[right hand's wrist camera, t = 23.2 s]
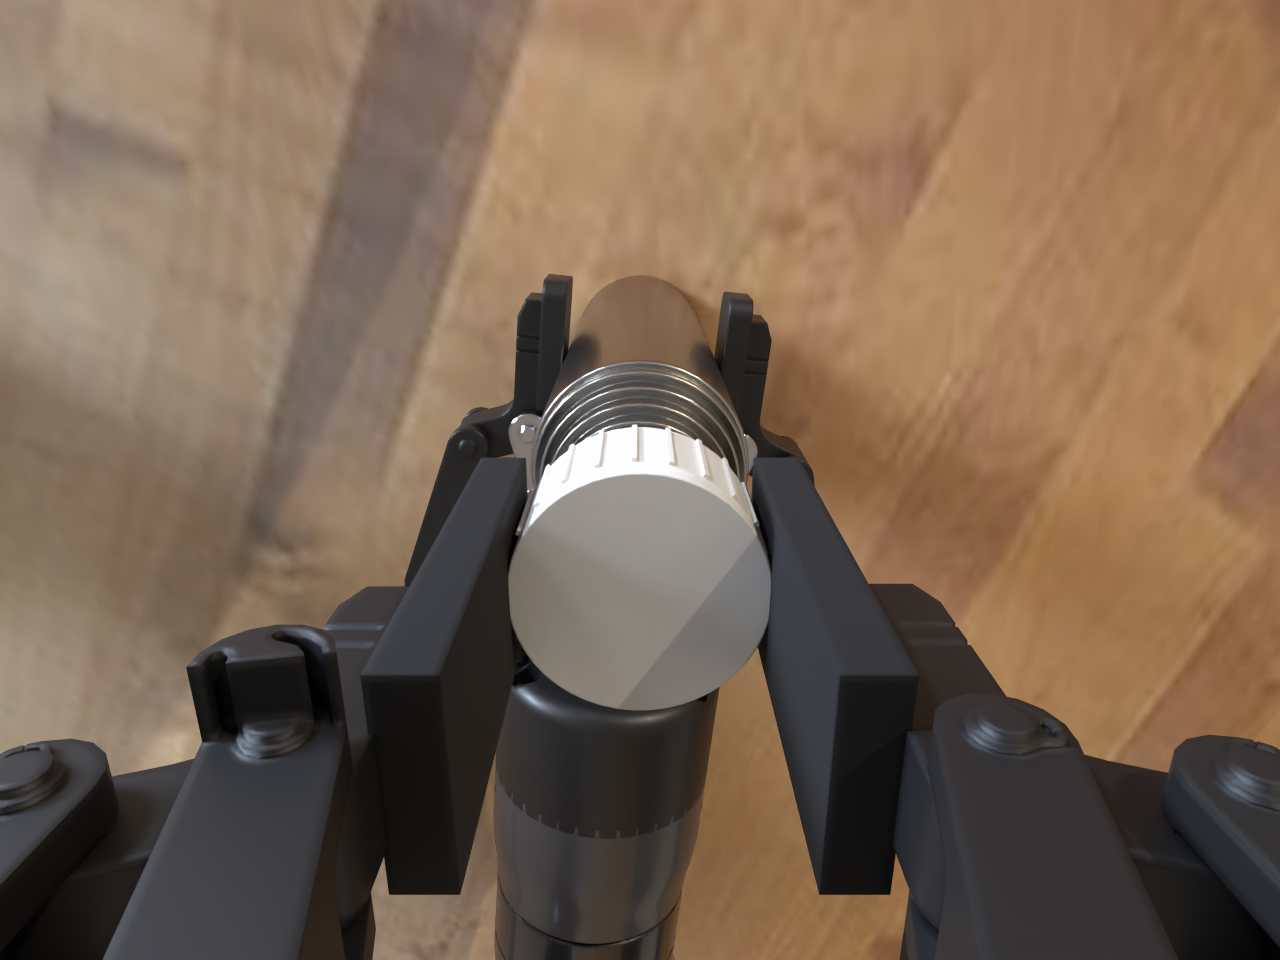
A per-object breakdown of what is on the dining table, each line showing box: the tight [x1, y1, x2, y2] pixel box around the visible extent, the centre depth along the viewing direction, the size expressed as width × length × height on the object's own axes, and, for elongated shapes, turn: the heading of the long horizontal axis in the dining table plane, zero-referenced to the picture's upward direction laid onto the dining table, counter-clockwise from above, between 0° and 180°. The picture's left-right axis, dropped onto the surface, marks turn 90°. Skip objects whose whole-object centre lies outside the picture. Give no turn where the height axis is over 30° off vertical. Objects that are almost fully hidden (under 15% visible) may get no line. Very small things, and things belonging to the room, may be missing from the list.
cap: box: [508, 425, 771, 710], centre depth 13 cm, size 4×4×2 cm
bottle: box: [531, 276, 749, 491], centre depth 22 cm, size 5×5×20 cm
